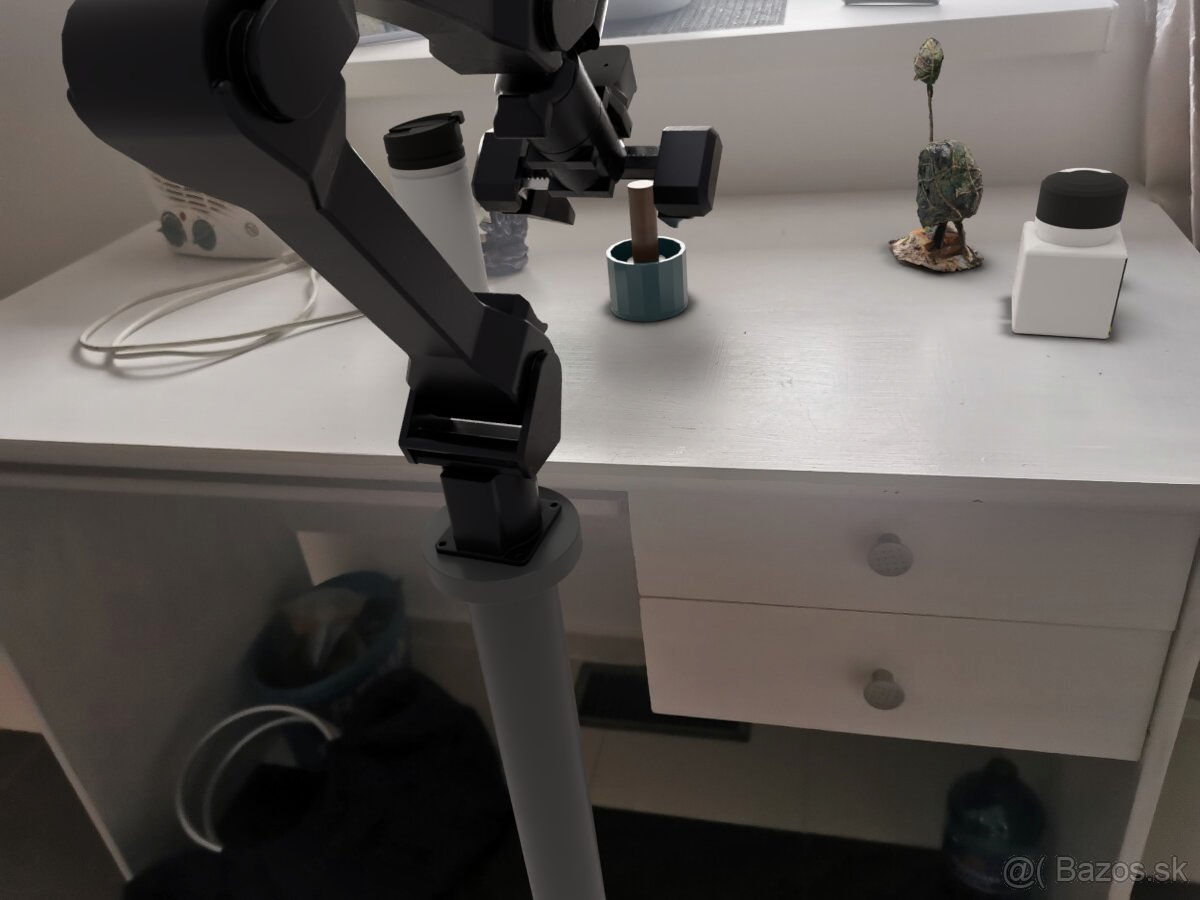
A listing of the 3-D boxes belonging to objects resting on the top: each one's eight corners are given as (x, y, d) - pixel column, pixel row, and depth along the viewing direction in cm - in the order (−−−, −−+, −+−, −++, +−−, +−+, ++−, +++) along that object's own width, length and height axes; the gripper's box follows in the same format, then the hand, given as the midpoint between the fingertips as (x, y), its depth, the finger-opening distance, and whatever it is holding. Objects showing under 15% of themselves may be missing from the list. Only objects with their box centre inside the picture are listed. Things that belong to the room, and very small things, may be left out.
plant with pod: (905, 286, 84) (928, 54, 73) (882, 243, 93) (899, 32, 83) (997, 281, 83) (1033, 45, 72) (964, 238, 93) (992, 24, 82)
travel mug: (497, 359, 79) (457, 121, 68) (422, 365, 79) (370, 129, 68) (504, 329, 84) (468, 103, 73) (434, 334, 84) (388, 111, 74)
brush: (675, 300, 85) (670, 182, 79) (645, 312, 83) (637, 193, 77) (651, 289, 87) (644, 175, 81) (622, 301, 86) (612, 185, 80)
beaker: (676, 324, 82) (673, 266, 79) (600, 319, 84) (595, 262, 81) (696, 292, 87) (694, 237, 84) (625, 288, 90) (620, 234, 87)
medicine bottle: (1109, 340, 72) (1144, 190, 65) (1011, 334, 74) (1036, 188, 68) (1101, 304, 77) (1133, 161, 71) (1010, 299, 80) (1033, 161, 73)
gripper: (713, 3, 60) (748, 133, 74) (462, 17, 66) (539, 134, 80) (687, 157, 58) (728, 259, 72) (430, 156, 64) (515, 251, 78)
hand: (623, 221), depth 76 cm, fingers open, 9 cm apart
